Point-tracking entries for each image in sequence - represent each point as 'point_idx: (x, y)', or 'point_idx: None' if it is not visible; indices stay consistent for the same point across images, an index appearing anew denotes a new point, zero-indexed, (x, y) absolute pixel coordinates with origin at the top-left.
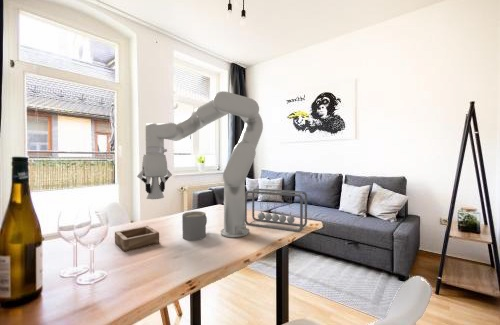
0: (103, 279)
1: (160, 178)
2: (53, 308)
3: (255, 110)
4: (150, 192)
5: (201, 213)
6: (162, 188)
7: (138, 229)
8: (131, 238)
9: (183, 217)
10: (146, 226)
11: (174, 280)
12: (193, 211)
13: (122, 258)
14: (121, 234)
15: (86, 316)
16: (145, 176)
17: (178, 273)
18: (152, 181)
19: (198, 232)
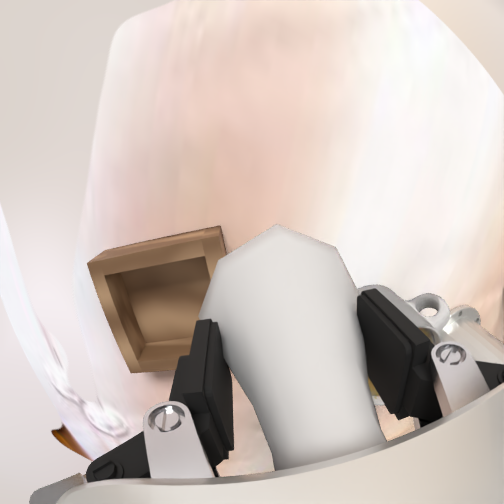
0: (126, 435)
1: (442, 411)
2: (93, 453)
3: None
4: (230, 381)
5: (436, 342)
6: (369, 375)
7: (175, 259)
8: (151, 371)
9: None
10: (211, 248)
11: (232, 474)
12: (427, 327)
13: (141, 383)
14: (113, 312)
15: None
16: (139, 488)
17: (243, 465)
18: (275, 451)
19: None
